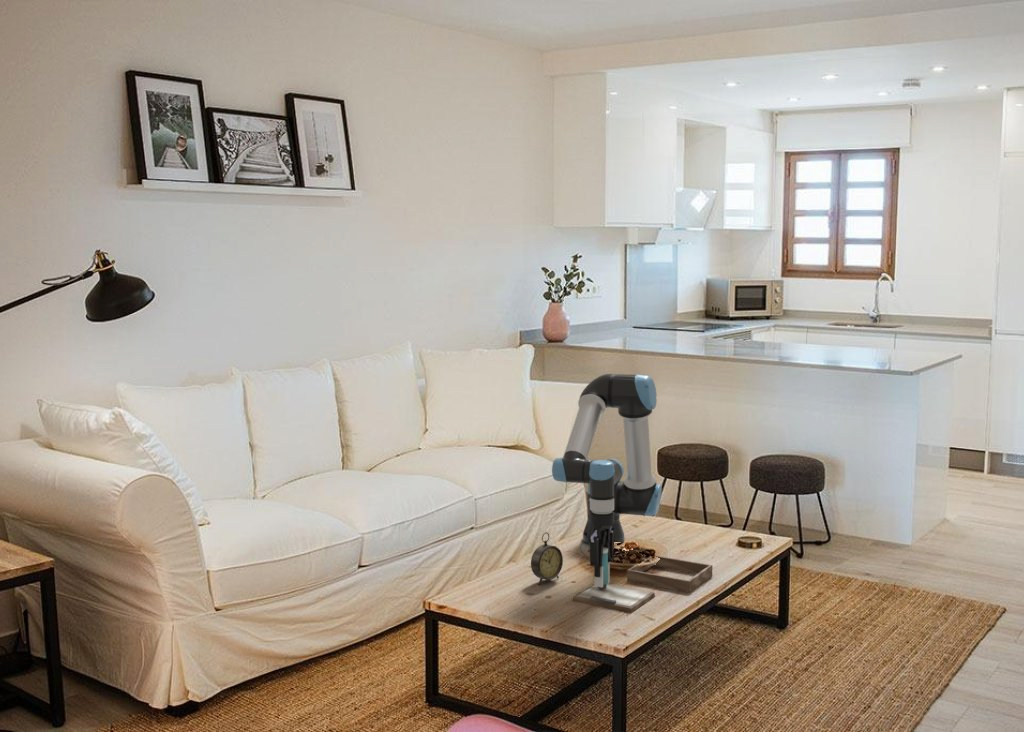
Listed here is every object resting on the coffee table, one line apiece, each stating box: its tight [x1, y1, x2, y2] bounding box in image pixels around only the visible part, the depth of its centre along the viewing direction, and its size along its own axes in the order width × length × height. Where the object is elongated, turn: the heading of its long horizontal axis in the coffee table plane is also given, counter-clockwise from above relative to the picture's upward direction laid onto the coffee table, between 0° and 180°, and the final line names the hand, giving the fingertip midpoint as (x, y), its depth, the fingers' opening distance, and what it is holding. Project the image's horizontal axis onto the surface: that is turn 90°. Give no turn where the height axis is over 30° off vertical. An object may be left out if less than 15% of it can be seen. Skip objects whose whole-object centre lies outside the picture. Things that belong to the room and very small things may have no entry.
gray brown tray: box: [626, 555, 713, 593], centre depth 337 cm, size 19×22×4 cm
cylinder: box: [597, 547, 608, 589], centre depth 322 cm, size 4×4×12 cm
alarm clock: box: [530, 531, 564, 586], centre depth 335 cm, size 11×5×16 cm, turn 133°
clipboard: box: [572, 583, 656, 613], centre depth 319 cm, size 16×20×2 cm
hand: (602, 584), depth 323 cm, fingers closed on cylinder, 3 cm apart
